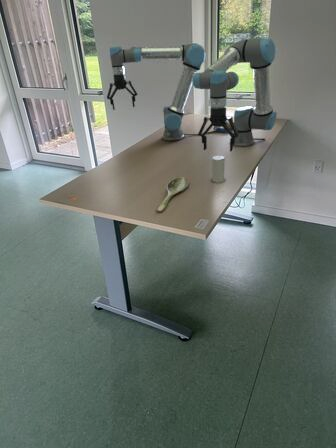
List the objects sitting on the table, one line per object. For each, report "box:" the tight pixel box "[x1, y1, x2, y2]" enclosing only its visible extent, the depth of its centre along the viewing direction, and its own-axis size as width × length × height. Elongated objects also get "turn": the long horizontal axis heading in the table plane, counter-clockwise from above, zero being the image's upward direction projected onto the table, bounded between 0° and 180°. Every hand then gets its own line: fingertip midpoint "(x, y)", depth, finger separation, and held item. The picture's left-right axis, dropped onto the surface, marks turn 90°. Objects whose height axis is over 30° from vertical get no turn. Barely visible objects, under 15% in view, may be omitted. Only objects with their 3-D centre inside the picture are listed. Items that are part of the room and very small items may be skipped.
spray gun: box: [212, 121, 232, 133], centre depth 256 cm, size 21×4×15 cm
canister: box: [211, 155, 225, 184], centre depth 175 cm, size 6×6×13 cm
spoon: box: [157, 176, 190, 213], centre depth 167 cm, size 35×11×2 cm, turn 159°
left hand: (123, 108), depth 224 cm, fingers open, 13 cm apart
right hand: (218, 150), depth 170 cm, fingers open, 13 cm apart
